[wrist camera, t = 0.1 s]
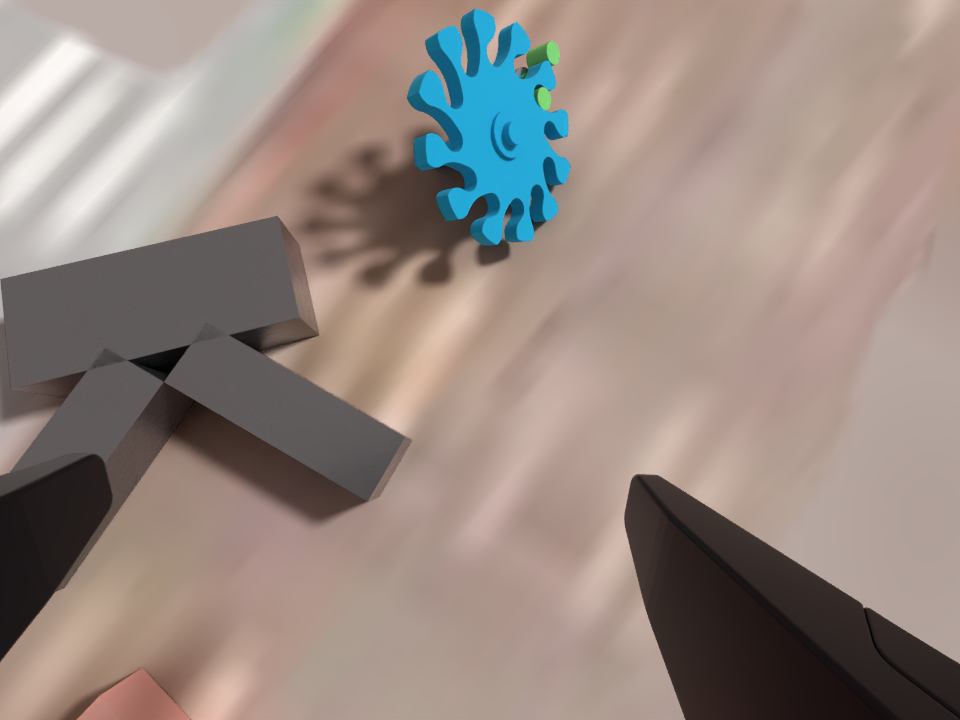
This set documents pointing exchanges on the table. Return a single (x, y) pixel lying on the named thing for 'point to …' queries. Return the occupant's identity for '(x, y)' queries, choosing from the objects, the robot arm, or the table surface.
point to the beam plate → (134, 702)
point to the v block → (183, 358)
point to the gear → (493, 127)
